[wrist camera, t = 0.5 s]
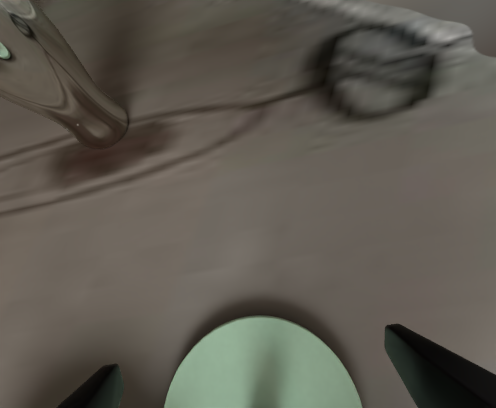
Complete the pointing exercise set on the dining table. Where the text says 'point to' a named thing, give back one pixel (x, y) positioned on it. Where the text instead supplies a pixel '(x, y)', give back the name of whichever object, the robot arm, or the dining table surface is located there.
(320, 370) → the lid
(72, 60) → the beer glass
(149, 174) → the dining table surface
